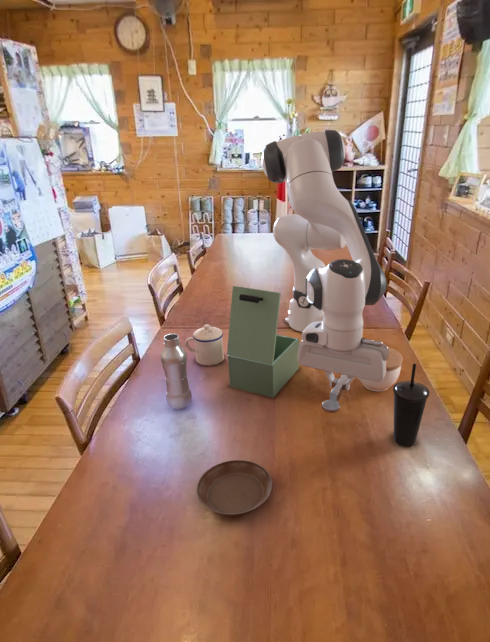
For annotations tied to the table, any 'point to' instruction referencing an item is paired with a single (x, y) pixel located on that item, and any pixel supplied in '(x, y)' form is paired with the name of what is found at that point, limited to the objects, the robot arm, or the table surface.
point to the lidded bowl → (391, 374)
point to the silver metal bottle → (175, 373)
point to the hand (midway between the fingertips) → (339, 387)
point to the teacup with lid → (207, 345)
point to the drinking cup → (408, 409)
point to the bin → (266, 369)
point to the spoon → (335, 397)
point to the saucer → (234, 487)
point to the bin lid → (253, 324)
